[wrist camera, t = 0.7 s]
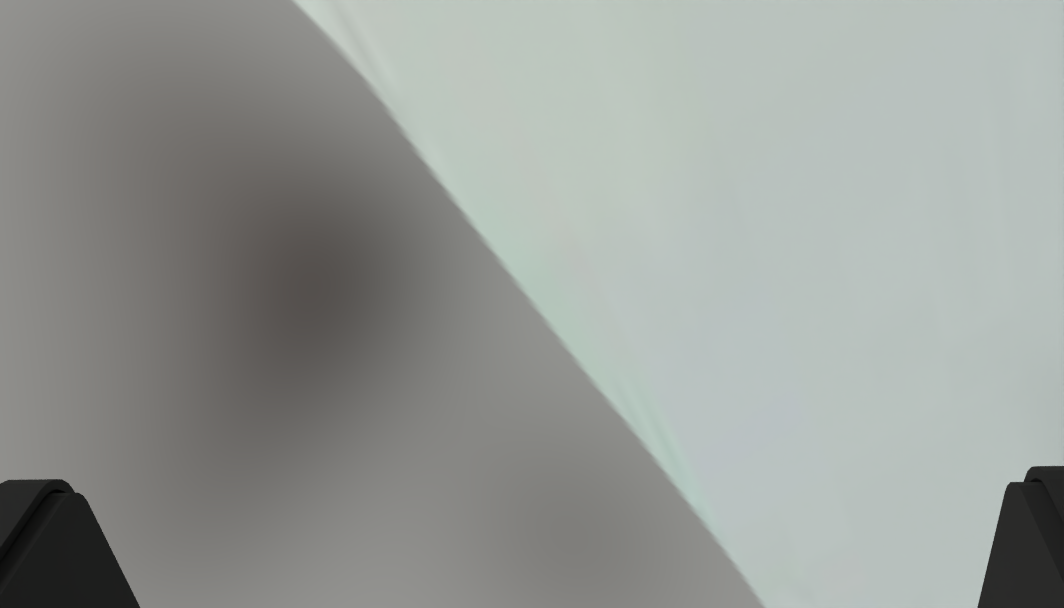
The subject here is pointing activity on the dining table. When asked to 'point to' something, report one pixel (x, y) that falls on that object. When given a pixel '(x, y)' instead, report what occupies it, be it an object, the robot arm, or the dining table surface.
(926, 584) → the dining table surface
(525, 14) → the dining table surface
